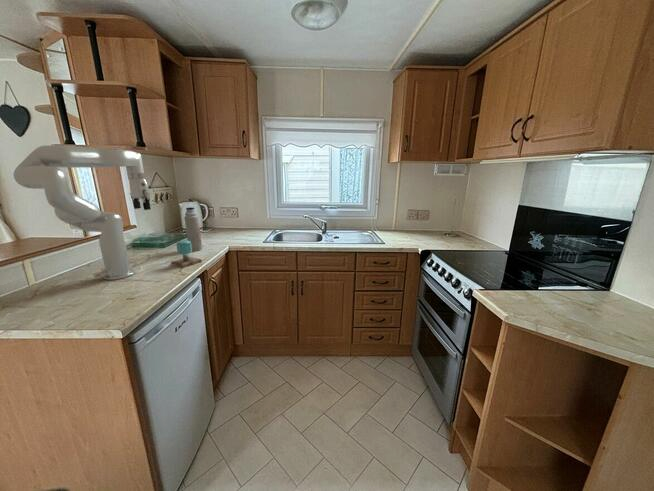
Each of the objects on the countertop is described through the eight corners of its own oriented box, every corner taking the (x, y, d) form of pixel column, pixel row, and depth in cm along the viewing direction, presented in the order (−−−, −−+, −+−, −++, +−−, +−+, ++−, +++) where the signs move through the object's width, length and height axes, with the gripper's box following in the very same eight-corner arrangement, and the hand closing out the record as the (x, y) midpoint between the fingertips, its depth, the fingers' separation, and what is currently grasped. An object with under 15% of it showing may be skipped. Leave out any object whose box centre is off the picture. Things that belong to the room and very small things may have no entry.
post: (185, 261, 148) (182, 244, 145) (182, 260, 149) (179, 243, 147) (190, 260, 151) (188, 243, 148) (187, 259, 152) (184, 242, 149)
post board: (183, 267, 143) (183, 264, 143) (171, 264, 148) (171, 261, 148) (201, 261, 153) (201, 259, 152) (189, 259, 158) (189, 256, 157)
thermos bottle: (204, 248, 180) (199, 207, 172) (197, 251, 172) (191, 208, 165) (194, 247, 181) (188, 206, 174) (186, 251, 174) (180, 208, 166)
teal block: (183, 254, 144) (181, 244, 143) (175, 253, 148) (173, 242, 146) (194, 251, 150) (193, 241, 148) (186, 250, 153) (185, 240, 152)
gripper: (153, 176, 140) (158, 209, 144) (135, 176, 148) (141, 207, 152) (137, 176, 133) (143, 210, 138) (120, 176, 141) (126, 208, 146)
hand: (142, 209), depth 145 cm, fingers open, 9 cm apart
